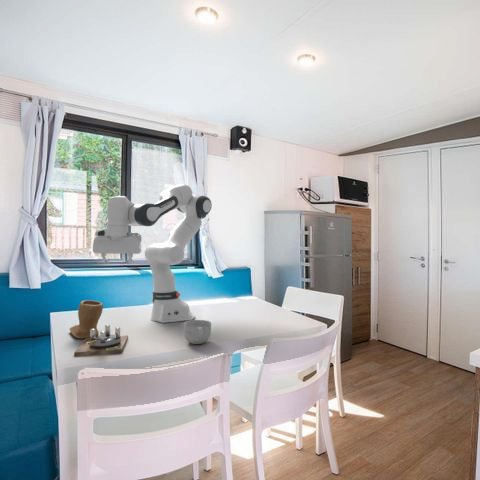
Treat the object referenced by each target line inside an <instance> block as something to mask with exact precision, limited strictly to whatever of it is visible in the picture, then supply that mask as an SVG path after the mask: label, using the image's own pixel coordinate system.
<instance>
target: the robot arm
mask: <svg viewBox="0 0 480 480" xmlns="http://www.w3.org/2000/svg"><path fill="white" fill-rule="evenodd" d="M158 197H159V199H158V201H157V202H155V203H143V204H142V203H141V204H134V203H133V202H132V201H130V200H129V199H128V197H127V196H125V195H120V196H119V195H118V196H112V197H110V198H109V199H108V202H107V209H106V217H107V224H106V228H104V229H101V230H96V231H95V233H94V236H95V238H94V239H93V242H92V252H93V253H94V254H101V258H102V260H103V264H104V265H109V264H110V263H109V259H107V258H106V256H107V254H108V255H110V254H112V255H113V254H120V255H121V254H127V255H128V259H125V264H126V265H131V261H132V258H133V257H134V255H136V254H137V255H138V254H140V253H142V235H141V234H140V233H138V232H129V226H131V227H151V226H154V225H155V224H156V223H157V222H158V221H159V219H160V218H161V217H162V216H164V215H166V214H168V213H170V211H173V210H177V211H179V212H181V213H183V214H185V215H184V216H183V218H182V219H181V220H180V221H179V222H178V223H177V224H176V225H175V226H174V227H173V228H172V230H170V232H169V238H168V239H167V241H165V242H163V243H157V242H156V243H153V244H150V245H148V246H147V247H146V248H145V250H144V257H145V259H146V261H147V262H148V264H149V266H150V270H151V275H152V288H153V289H152V290H153V291H152V293H151V295H152V296H151V297H152V299H151V301H152V310H151V315H150V317H149V318H150V320H151V321H152V322H159V323H163V324H164V323H175V322H183V321H184V322H186V321H189V320H195V314H194V313H193V312H191V309H190V306H189V304H188V302H186V301H184V300H182V299H181V298H180V296H181V293H180V292H179V290H178V291H177V290H176V277H175V274H174V273H173V271H172V269H171V267H170V266H175V265H178V264H180V263H182V262H183V260H184V259H185V248H186V246H187V245H188V244H189V242H190V241H192V239H193V238H194V237H195V235H196V234H197V232H198V231H199V230H200V229H201V226H202V219H205V218H206V217H207V216H208V214H209V213H210V211H212V201H211V199H210V198H209V197H208V196H205V195H201V194H200V195H199V194H193V190H192V188H191V187H190V186H189V185H187V184H177V185H173V186H171V187H169V188H167V189H165V190H163V191H162V192H160V194H159V196H158Z"/></svg>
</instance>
